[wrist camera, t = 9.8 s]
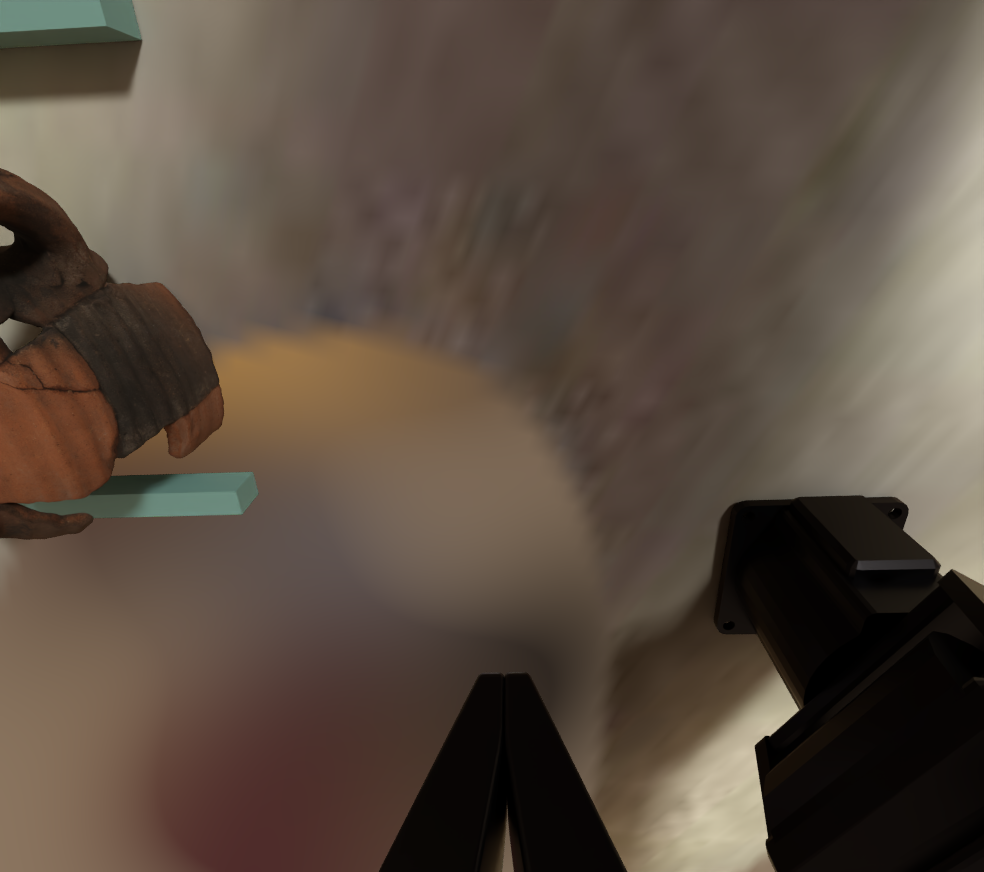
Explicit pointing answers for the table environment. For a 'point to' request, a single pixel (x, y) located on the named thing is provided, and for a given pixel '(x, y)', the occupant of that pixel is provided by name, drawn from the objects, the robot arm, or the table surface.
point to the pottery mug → (86, 368)
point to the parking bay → (94, 19)
